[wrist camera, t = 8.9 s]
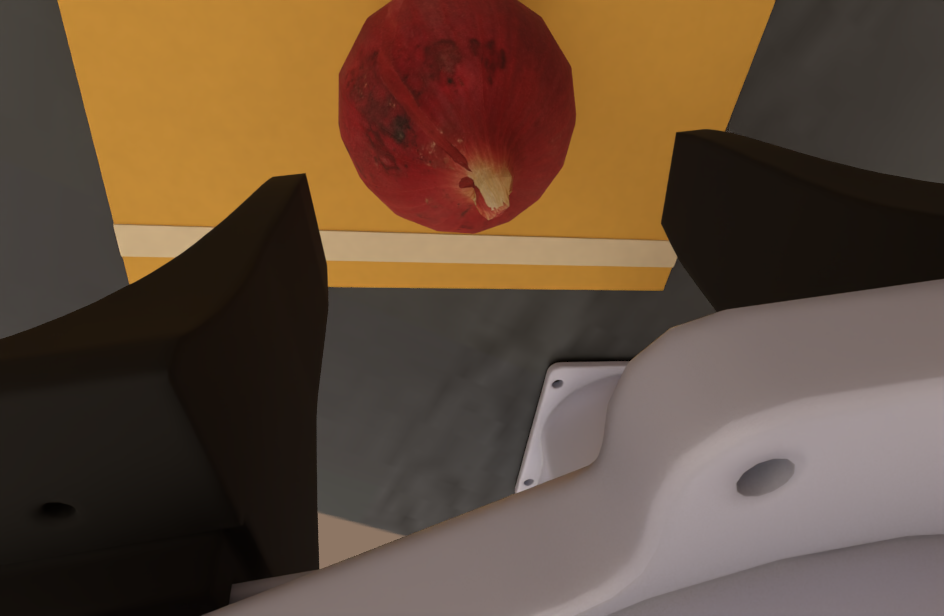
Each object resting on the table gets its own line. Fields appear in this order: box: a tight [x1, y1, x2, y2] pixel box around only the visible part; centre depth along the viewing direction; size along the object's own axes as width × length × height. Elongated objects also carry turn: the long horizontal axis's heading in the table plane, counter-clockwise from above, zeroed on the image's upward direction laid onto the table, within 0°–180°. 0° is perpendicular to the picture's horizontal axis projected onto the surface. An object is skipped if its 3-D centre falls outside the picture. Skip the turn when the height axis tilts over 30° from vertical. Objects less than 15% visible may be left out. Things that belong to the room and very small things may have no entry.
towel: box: [58, 0, 776, 291], centre depth 18 cm, size 16×20×1 cm
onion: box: [338, 0, 576, 234], centre depth 15 cm, size 6×6×8 cm
